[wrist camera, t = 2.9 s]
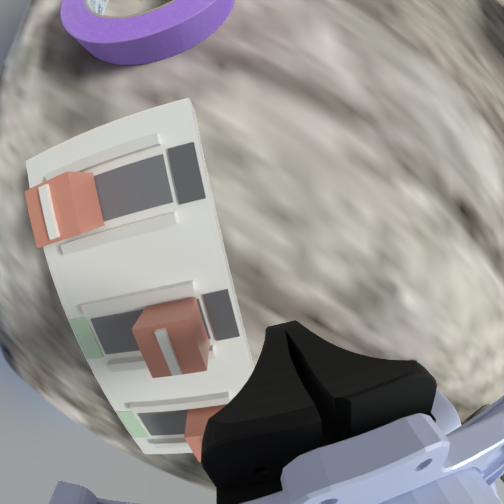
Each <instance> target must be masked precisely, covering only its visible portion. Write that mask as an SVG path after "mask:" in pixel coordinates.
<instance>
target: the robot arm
mask: <svg viewBox="0 0 504 504" xmlns="http://www.w3.org/2000/svg"><path fill="white" fill-rule="evenodd" d="M201 464H202V466H203V469H204V470H205V472H206V473H207V475H208V476H209V478H210V479H211V481H212V482H213V483H214V485H215V486H216V488H217V504H503V503H502V501H501V500H500V498H499V496H498V494H497V492H496V486H495V483H494V482H495V481H496V480H497V479H498V478H499V477H501V476H502V475H503V474H504V396H502V397H501V398H500V399H499V400H497V401H496V402H495V403H493V404H492V405H491V406H489V407H488V408H487V409H485V410H484V411H482V412H481V413H480V414H478V415H477V416H475V417H474V418H472V419H471V420H469V421H468V422H466V423H465V424H463V425H462V426H461V422H460V419H459V416H458V414H457V412H456V410H455V408H454V407H453V405H452V404H451V403H450V402H449V401H448V399H447V398H446V397H445V396H444V395H443V394H442V393H441V392H440V391H439V390H438V388H437V384H436V381H435V379H434V377H433V376H432V375H431V374H430V373H429V372H428V371H427V370H426V369H425V368H424V367H423V366H422V365H421V363H420V362H419V361H418V360H415V361H406V360H387V359H379V358H373V357H368V356H364V355H360V354H357V353H353V352H350V351H348V350H345V349H342V348H340V347H337V346H335V345H333V344H331V343H329V342H327V341H325V340H324V339H322V338H320V337H319V336H317V335H316V334H314V333H313V332H311V331H310V330H308V329H307V328H306V327H304V326H303V325H302V324H300V323H299V322H297V321H296V320H295V321H291V322H287V323H282V324H278V325H274V326H270V327H267V328H266V335H265V341H264V345H263V348H262V352H261V355H260V357H259V359H258V362H257V364H256V366H255V368H254V370H253V372H252V374H251V376H250V377H249V379H248V380H247V382H246V383H245V385H244V386H243V387H242V389H241V390H240V391H239V393H238V394H237V395H236V396H235V397H234V398H233V399H232V400H231V401H230V402H229V403H228V404H227V405H226V406H225V407H223V408H222V409H221V410H220V411H218V412H217V413H216V414H214V415H213V416H212V417H210V418H209V419H208V421H207V424H206V428H205V431H204V435H203V440H202V447H201ZM49 504H135V503H127V502H118V501H112V500H106V499H100V498H97V497H96V496H95V495H94V494H93V493H92V492H91V491H90V490H88V489H87V488H85V487H83V486H80V485H76V484H71V483H67V482H63V481H58V483H57V485H56V488H55V490H54V493H53V495H52V498H51V500H50V503H49Z"/></svg>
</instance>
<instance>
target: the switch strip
mask: <svg viewBox="0 0 504 504" xmlns="http://www.w3.org/2000/svg"><path fill="white" fill-rule="evenodd" d="M26 166H27V173H28V180H29V186H30V188H32V187H34V186H36V185H38V184H41V183H43V182H45V181H47V180H49V179H51V178H54V177H56V176H58V175H60V174H63V173H65V172H67V171H69V172H93V175H94V181H95V186H96V190H97V195H98V200H99V204H100V208H101V213H102V217H103V221H104V226H101V227H99V228H96V229H93V230H91V231H88V232H85V233H83V234H80V235H77V236H74V237H71V238H67V239H64V240H61V241H58V242H55V243H52V244H49V245H46V246H44V247H43V249H44V253H45V256H46V259H47V263H48V266H49V269H50V272H51V275H52V278H53V281H54V284H55V287H56V290H57V293H58V295H59V298H60V301H61V303H62V306H63V309H64V311H65V314H66V316H67V318H68V321H69V323H70V326H71V328H72V330H73V333H74V335H75V337H76V339H77V341H78V344H79V346H80V348H81V350H82V352H83V354H84V356H85V358H86V360H87V362H88V364H89V366H90V368H91V370H92V372H93V374H94V376H95V377H96V379H97V381H98V383H99V385H100V387H101V388H102V390H103V392H104V394H105V395H106V397H107V399H108V400H109V402H110V404H111V405H112V407H113V409H114V410H115V412H116V413H117V415H118V417H119V418H120V420H121V421H122V423H123V424H124V426H125V427H126V429H127V430H128V432H129V433H130V435H131V436H132V437H133V439H134V440H135V442H136V443H137V444H138V446H139V447H140V449H141V450H142V451H143V453H144V454H178V453H193V452H192V450H191V448H190V447H189V445H188V443H187V442H186V440H185V438H184V434H185V427H186V420H187V413H188V409H195V408H203V407H210V406H217V405H224V404H228V403H229V402H230V401H231V400H232V399H233V398H234V397H235V396H236V395H237V394H238V393H239V391H240V390H241V389H242V387H243V386H244V385H245V383H246V382H247V380H248V379H249V377H250V376H251V374H252V372H253V370H254V368H255V367H254V363H253V360H252V356H251V352H250V348H249V344H248V340H247V336H246V333H245V329H244V325H243V321H242V317H241V313H240V309H239V305H238V301H237V297H236V293H235V289H234V285H233V280H232V276H231V272H230V268H229V264H228V260H227V255H226V251H225V247H224V243H223V238H222V234H221V230H220V225H219V221H218V217H217V212H216V208H215V203H214V199H213V194H212V190H211V185H210V181H209V176H208V172H207V167H206V162H205V158H204V153H203V148H202V143H201V139H200V134H199V129H198V124H197V119H196V114H195V109H194V107H193V105H192V103H191V101H190V99H189V98H186V99H182V100H178V101H175V102H171V103H167V104H164V105H160V106H157V107H154V108H150V109H147V110H144V111H141V112H138V113H135V114H132V115H129V116H126V117H123V118H120V119H118V120H115V121H112V122H110V123H107V124H104V125H102V126H99V127H97V128H94V129H92V130H89V131H87V132H85V133H82V134H80V135H78V136H75V137H73V138H71V139H69V140H66V141H64V142H62V143H60V144H58V145H56V146H54V147H52V148H50V149H48V150H46V151H44V152H42V153H40V154H38V155H36V156H34V157H32V158H30V159H29V160H27V161H26ZM192 297H196V300H197V303H198V306H199V310H200V313H201V316H202V320H203V323H204V326H205V329H206V332H207V336H208V339H209V342H210V346H209V356H208V366H207V371H203V372H196V373H190V374H182V375H176V376H167V377H159V378H152V376H151V373H150V371H149V369H148V367H147V365H146V363H145V360H144V358H143V356H142V353H141V351H140V349H139V347H138V344H137V342H136V339H135V337H134V334H133V332H132V328H133V326H134V325H135V323H136V321H137V320H138V318H139V317H140V315H141V314H142V312H143V310H144V309H145V307H147V306H152V305H157V304H162V303H167V302H172V301H177V300H182V299H187V298H192Z"/></svg>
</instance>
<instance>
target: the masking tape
mask: <svg viewBox="0 0 504 504" xmlns="http://www.w3.org/2000/svg"><path fill="white" fill-rule="evenodd" d="M108 2H109V0H62V3H61V9H60V16H61V21H62V24H63V26H64V28H65V30H66V31H67V32H68V33H69V34H70V35H71V36H72V37H73V38H74V39H76V40H77V41H78V42H79V43H80V44H81V45H82V46H83V47H84V48H85V49H86V50H87V51H88V52H90V53H91V54H92V55H93V56H95V57H96V58H98V59H100V60H102V61H105V62H108V63H112V64H118V65H138V64H146V63H151V62H156V61H159V60H163V59H166V58H169V57H172V56H174V55H177V54H179V53H182V52H184V51H186V50H188V49H190V48H192V47H193V46H195V45H197V44H198V43H200V42H202V41H203V40H204V39H206V38H207V37H208V36H210V35H211V34H212V33H213V32H214V31H216V30H217V29H218V28H219V26H220V25H221V24H222V23H223V22H224V21H225V19H226V18H227V16H228V15H229V13H230V11H231V9H232V7H233V4H234V0H172V1H170V2H168V3H166V4H164V5H161V6H159V7H156V8H153V9H150V10H148V11H145V12H142V13H138V14H133V15H128V16H104V13H105V9H106V6H107V4H108Z"/></svg>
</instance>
